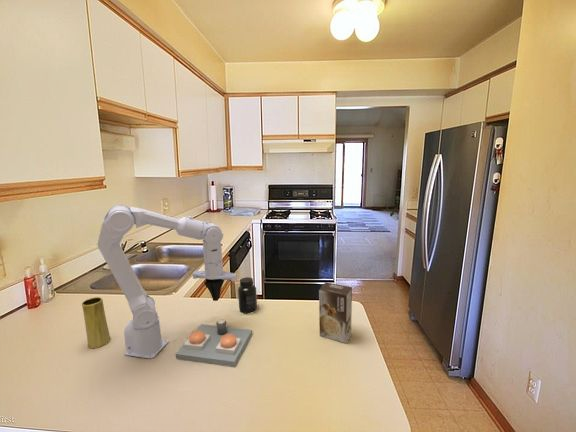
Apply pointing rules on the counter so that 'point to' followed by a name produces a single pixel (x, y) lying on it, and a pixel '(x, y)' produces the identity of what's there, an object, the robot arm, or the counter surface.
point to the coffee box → (335, 311)
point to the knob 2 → (228, 341)
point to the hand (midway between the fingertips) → (216, 299)
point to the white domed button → (221, 327)
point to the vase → (95, 322)
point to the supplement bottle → (247, 296)
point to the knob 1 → (197, 337)
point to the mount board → (215, 347)
